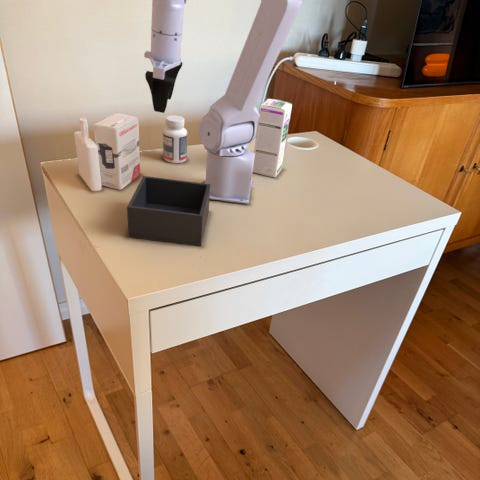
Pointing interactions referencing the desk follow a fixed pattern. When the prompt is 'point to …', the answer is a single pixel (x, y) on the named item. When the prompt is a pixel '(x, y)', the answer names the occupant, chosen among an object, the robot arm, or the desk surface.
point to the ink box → (118, 149)
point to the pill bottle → (175, 140)
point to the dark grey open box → (169, 210)
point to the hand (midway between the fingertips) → (162, 104)
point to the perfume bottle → (87, 157)
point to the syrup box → (271, 137)
